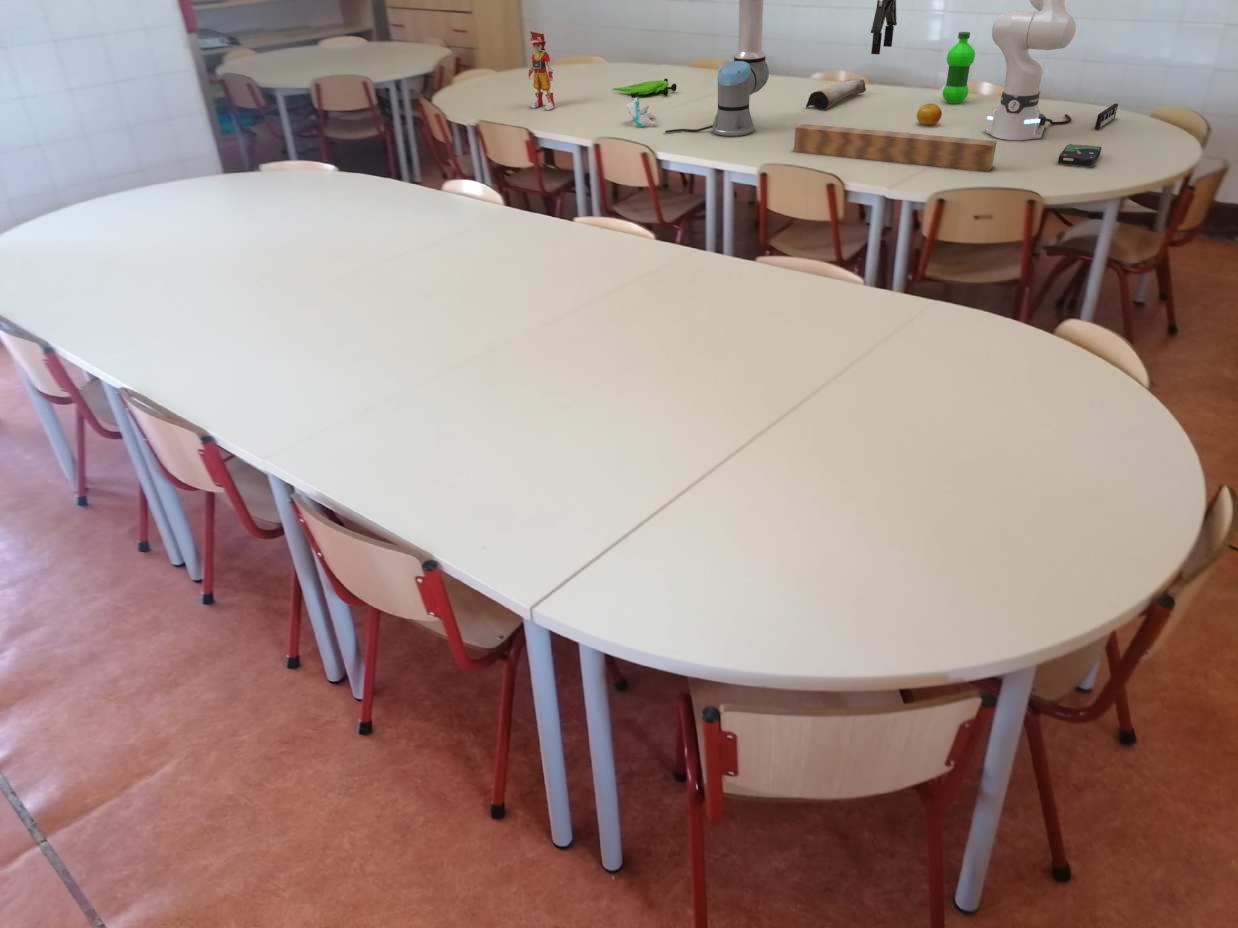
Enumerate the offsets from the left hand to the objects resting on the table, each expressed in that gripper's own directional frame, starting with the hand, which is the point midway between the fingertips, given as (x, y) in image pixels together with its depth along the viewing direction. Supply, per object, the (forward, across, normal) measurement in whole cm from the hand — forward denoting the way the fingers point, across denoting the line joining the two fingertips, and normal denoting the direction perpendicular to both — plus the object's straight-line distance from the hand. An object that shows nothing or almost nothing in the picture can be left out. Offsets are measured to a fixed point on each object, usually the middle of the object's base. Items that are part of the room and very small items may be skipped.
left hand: (881, 50), depth 308 cm
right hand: (-20, -16, -42) cm, 50 cm away
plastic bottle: (+28, +54, -16) cm, 63 cm away
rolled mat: (+28, +42, +28) cm, 58 cm away
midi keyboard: (+28, +39, -72) cm, 86 cm away
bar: (+28, -27, -14) cm, 42 cm away
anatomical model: (+28, -14, +88) cm, 94 cm away
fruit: (+28, +19, -15) cm, 37 cm away
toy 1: (+28, -6, +142) cm, 144 cm away
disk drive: (+28, -8, -70) cm, 76 cm away
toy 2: (+28, +32, +114) cm, 122 cm away
